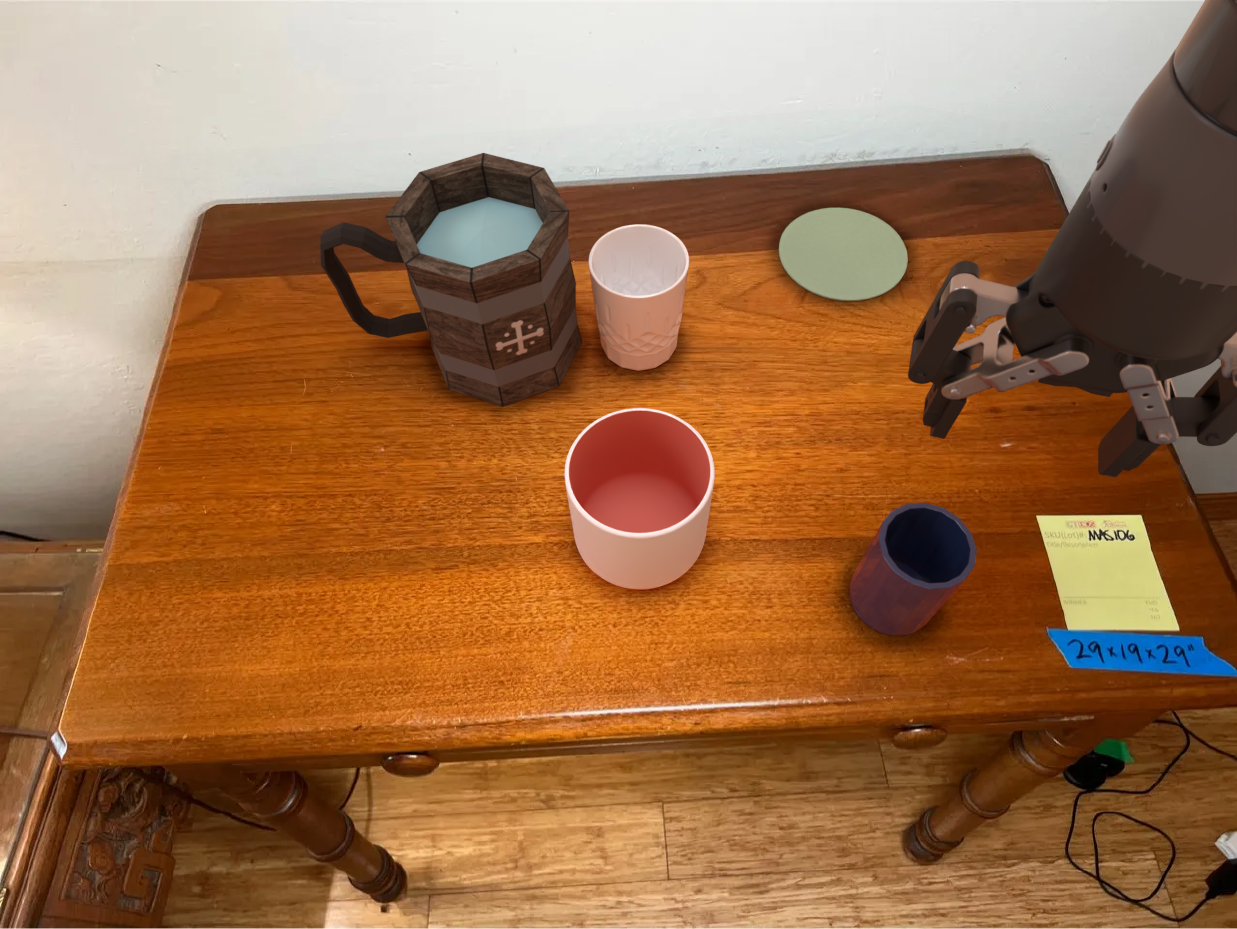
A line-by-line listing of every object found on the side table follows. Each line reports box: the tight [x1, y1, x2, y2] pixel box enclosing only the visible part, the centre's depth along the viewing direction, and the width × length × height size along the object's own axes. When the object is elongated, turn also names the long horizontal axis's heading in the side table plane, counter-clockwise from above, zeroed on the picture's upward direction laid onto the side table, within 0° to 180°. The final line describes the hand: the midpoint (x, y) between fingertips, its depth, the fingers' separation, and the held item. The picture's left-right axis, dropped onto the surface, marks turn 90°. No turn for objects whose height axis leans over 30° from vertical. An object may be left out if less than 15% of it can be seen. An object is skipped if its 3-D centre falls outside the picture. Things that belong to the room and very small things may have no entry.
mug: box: [319, 152, 583, 408], centre depth 66 cm, size 20×14×15 cm
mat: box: [778, 207, 909, 302], centre depth 77 cm, size 12×12×1 cm
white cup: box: [588, 223, 690, 371], centre depth 68 cm, size 8×8×10 cm
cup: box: [564, 407, 716, 590], centre depth 58 cm, size 10×10×10 cm
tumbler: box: [848, 502, 978, 637], centre depth 56 cm, size 6×6×9 cm
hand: (1020, 442), depth 43 cm, fingers open, 8 cm apart
